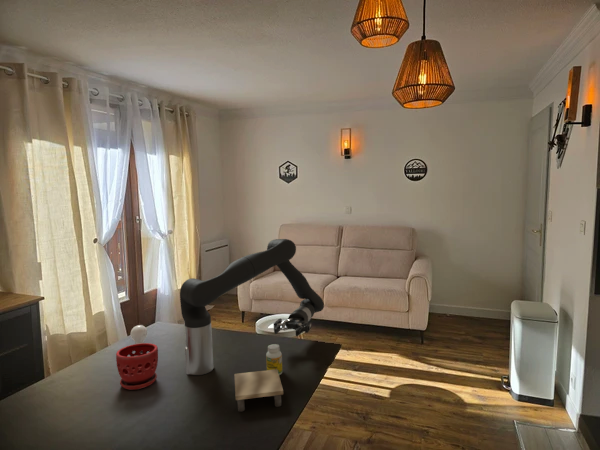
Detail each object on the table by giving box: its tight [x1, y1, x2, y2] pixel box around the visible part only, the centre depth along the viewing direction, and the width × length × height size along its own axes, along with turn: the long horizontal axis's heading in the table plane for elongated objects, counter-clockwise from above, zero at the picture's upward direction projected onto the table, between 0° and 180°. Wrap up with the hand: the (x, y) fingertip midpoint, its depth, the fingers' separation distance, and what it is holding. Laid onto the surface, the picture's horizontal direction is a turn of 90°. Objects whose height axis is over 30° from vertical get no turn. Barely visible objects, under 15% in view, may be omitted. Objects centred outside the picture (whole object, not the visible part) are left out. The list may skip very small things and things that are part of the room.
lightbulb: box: [130, 324, 148, 353], centre depth 161 cm, size 6×6×11 cm
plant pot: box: [115, 342, 159, 391], centre depth 135 cm, size 13×13×12 cm
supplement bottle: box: [265, 343, 283, 376], centre depth 140 cm, size 6×6×10 cm
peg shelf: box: [234, 369, 284, 412], centre depth 124 cm, size 14×14×5 cm
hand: (285, 332), depth 150 cm, fingers open, 8 cm apart
